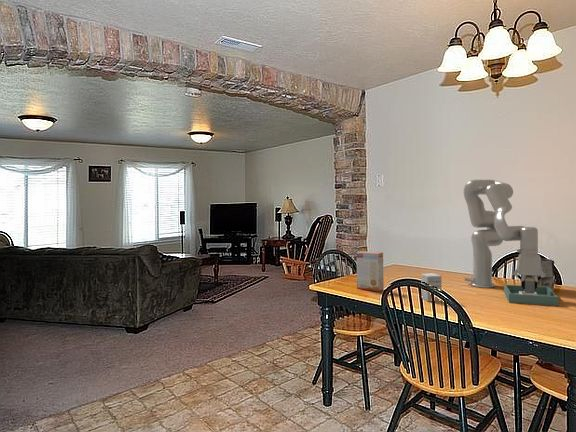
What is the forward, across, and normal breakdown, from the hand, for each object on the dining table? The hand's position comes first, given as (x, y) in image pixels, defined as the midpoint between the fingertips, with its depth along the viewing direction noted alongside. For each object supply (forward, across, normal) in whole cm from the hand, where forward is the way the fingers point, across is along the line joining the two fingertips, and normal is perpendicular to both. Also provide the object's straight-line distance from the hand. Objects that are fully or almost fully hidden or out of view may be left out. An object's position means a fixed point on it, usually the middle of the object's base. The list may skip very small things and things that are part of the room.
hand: (529, 288), depth 202 cm
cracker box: (+4, -78, -5) cm, 78 cm away
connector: (+2, 0, 0) cm, 2 cm away
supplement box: (+5, -45, -19) cm, 49 cm away
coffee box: (+5, +10, +23) cm, 26 cm away
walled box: (+5, 0, -2) cm, 5 cm away
